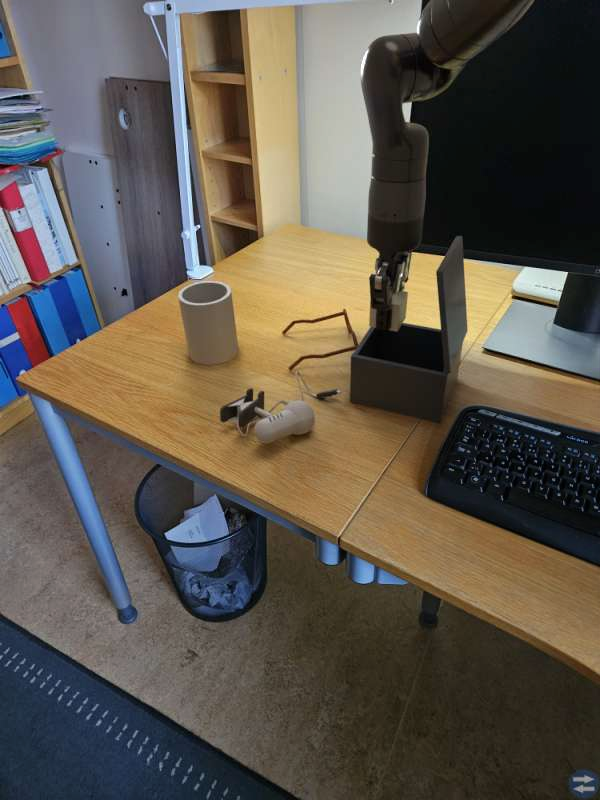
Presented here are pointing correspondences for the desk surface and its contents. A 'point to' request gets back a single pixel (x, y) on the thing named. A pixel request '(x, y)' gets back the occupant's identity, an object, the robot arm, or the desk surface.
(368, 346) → the box
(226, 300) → the cup
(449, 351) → the box lid
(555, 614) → the desk surface
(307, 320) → the glasses
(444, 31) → the robot arm
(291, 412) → the clip-on lamp
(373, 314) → the block
